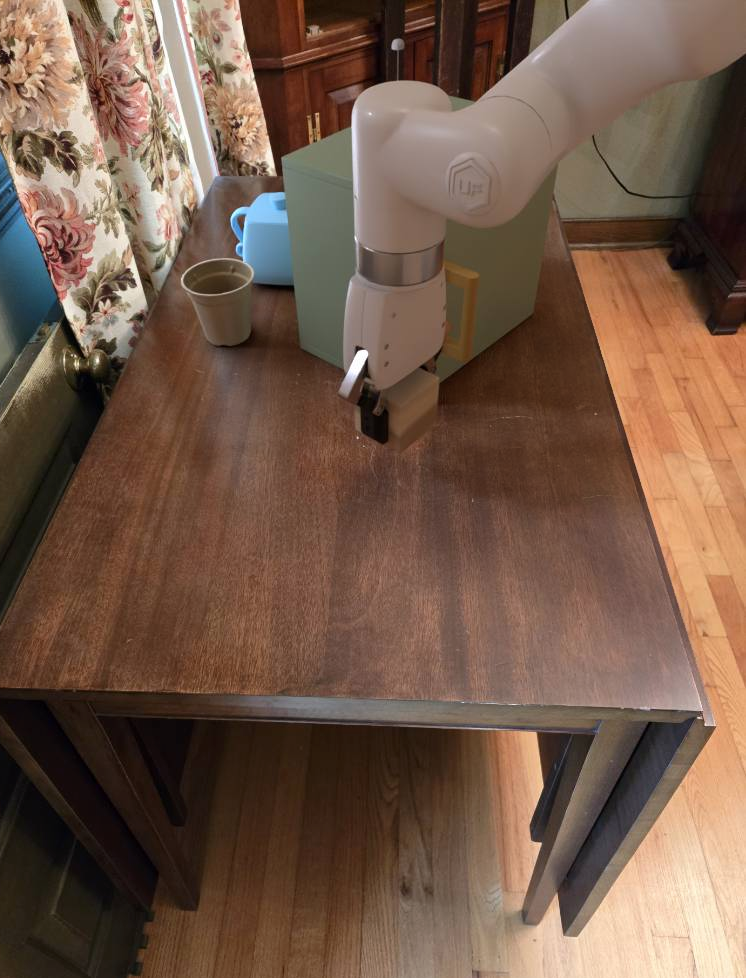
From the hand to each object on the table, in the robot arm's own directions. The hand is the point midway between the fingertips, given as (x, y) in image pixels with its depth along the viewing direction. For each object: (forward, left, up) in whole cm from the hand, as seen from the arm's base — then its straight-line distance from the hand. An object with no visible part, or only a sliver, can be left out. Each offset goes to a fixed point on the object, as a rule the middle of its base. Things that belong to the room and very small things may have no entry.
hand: (396, 420), depth 75 cm
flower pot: (+35, -6, -7) cm, 36 cm away
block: (0, 0, -1) cm, 1 cm away
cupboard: (+16, -23, -7) cm, 29 cm away
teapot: (+40, -24, -7) cm, 47 cm away
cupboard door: (+3, -23, -7) cm, 24 cm away
